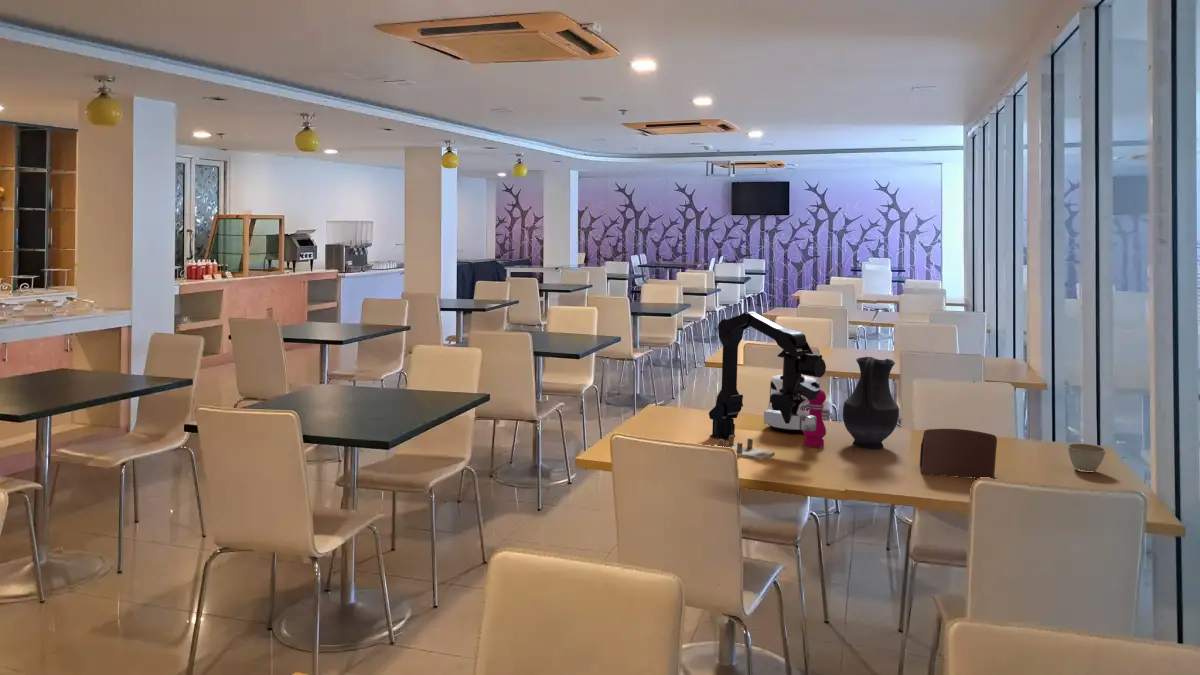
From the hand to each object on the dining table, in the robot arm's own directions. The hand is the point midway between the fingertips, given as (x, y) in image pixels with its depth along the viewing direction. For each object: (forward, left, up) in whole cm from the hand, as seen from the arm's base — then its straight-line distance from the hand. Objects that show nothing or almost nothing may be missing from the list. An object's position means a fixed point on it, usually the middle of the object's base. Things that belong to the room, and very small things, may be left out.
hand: (789, 422), depth 290 cm
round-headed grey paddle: (0, 0, -1) cm, 1 cm away
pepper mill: (+2, +16, -10) cm, 19 cm away
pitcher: (+17, +24, -10) cm, 31 cm away
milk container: (-13, +32, -10) cm, 36 cm away
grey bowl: (+78, +39, -10) cm, 88 cm away
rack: (-12, -9, -10) cm, 18 cm away
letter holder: (+48, +11, -10) cm, 50 cm away
